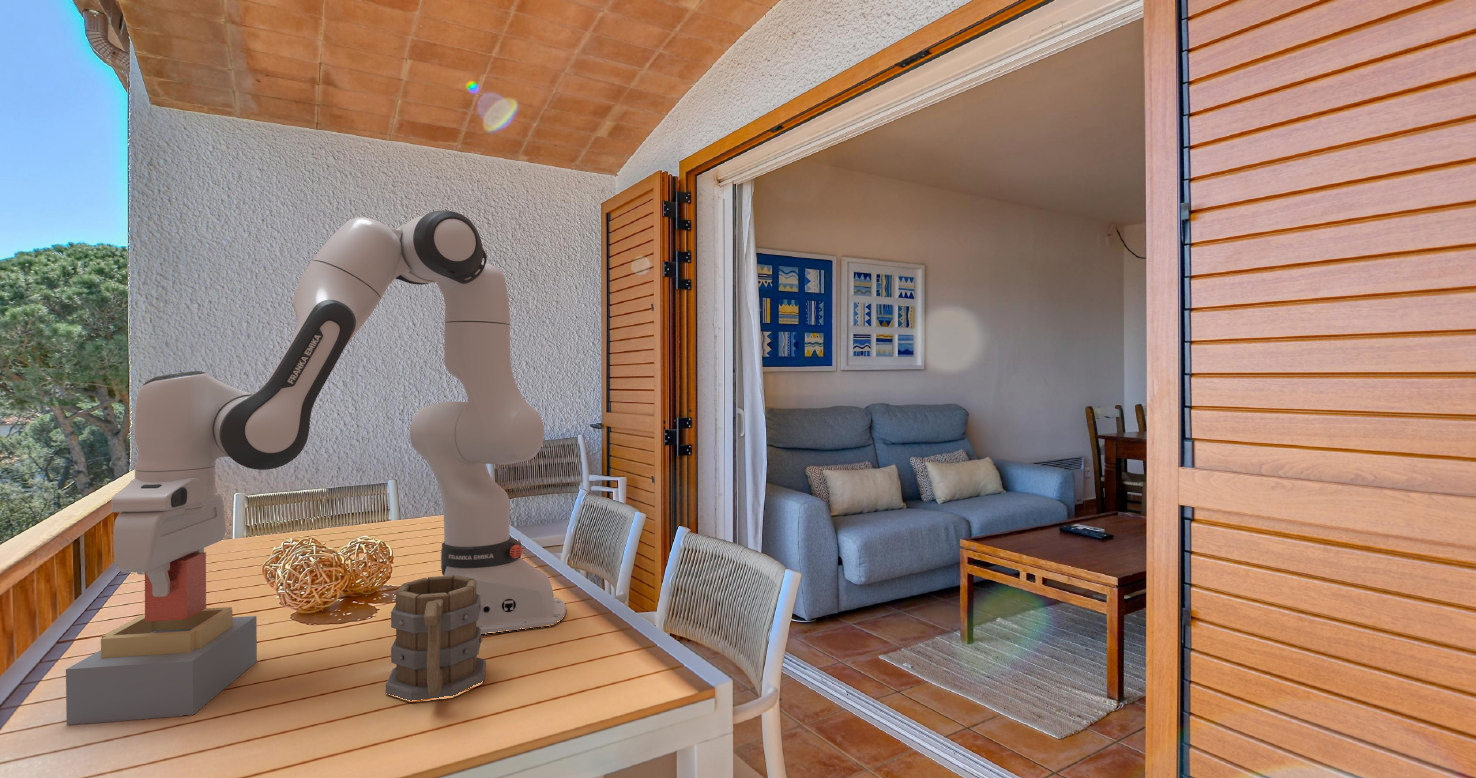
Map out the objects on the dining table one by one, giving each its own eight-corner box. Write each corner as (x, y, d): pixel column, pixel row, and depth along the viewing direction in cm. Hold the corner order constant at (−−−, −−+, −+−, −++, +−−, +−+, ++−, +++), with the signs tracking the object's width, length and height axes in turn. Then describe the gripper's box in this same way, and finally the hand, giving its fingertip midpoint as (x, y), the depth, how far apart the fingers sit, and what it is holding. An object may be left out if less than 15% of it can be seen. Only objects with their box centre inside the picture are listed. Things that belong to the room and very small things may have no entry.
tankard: (397, 670, 108) (396, 569, 108) (487, 661, 111) (486, 563, 111) (368, 733, 89) (367, 611, 88) (478, 720, 92) (477, 602, 92)
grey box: (262, 656, 113) (262, 595, 113) (192, 714, 93) (192, 641, 93) (160, 663, 110) (159, 600, 110) (66, 724, 91) (65, 649, 91)
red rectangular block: (206, 608, 104) (205, 549, 104) (186, 619, 99) (186, 557, 99) (151, 610, 102) (150, 551, 102) (128, 622, 97) (128, 559, 97)
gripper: (191, 479, 110) (191, 570, 110) (101, 501, 90) (102, 612, 90) (237, 478, 111) (238, 568, 112) (159, 499, 91) (159, 609, 91)
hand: (176, 588), depth 101 cm, fingers closed on red rectangular block, 5 cm apart
